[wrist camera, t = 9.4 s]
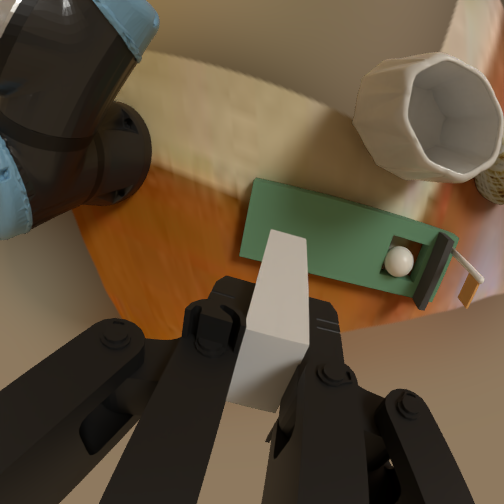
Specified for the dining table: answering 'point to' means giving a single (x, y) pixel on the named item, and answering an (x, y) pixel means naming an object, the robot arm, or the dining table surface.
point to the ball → (398, 261)
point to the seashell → (493, 179)
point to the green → (352, 241)
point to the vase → (429, 118)
